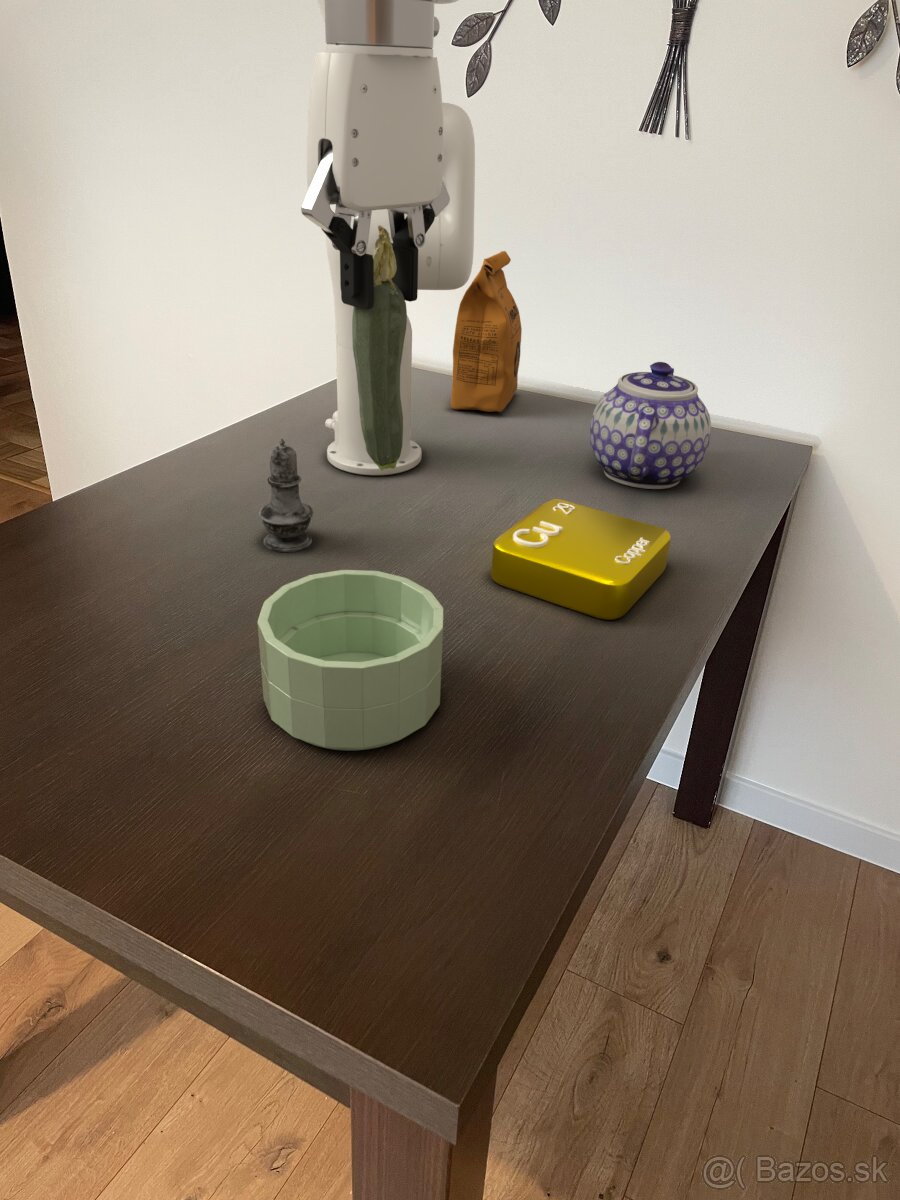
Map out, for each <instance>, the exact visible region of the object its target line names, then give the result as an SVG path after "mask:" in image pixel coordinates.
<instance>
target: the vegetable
mask: <svg viewBox="0 0 900 1200" xmlns="http://www.w3.org/2000/svg"><path fill="white" fill-rule="evenodd" d="M378 228H379V230H378V231H379V233H380V234H379V235H378V239H377V240H376V243H375V250H374V256H373V259H374V305H373V307H372V308H371V309H367V310H364V309H361V308H357V307H353V316H352V342H353V353H354V359H355V365H356V372H357V382H358V394H359V406H360V419H361V427H362V432H363V437H364V441H365V444H366V451H367V453H368V455H369V456H370V458H371V459H372V460H373V462H374V463H375V464H376V465H377V466H378V467H379V469H380V470H382V471H383V469H387V468H392V469H393V468H395V467H396V463H397V460H398V459H399V457H400V454H401V450H402V443H403V414H402V406H401V398H400V366H401V359H402V352H403V345H404V338H405V333H406V324H407V316H408V314H407V313H408V310H407V303H406V302H407V301H406V300H405V299H404V296H403V294H402V292H401V290H400V289H399V288H398V287H397V285H396V284H394V283H393V282H392V278H393V277H394V275H395V273H396V268H397V266H396V259H395V255H394V251H393V247H392V244H391V242H390V236H389V233H388V231H387V230H386V229H385V228H383V227H382V226H378Z"/></svg>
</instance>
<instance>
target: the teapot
mask: <svg viewBox="0 0 900 1200" xmlns="http://www.w3.org/2000/svg"><path fill="white" fill-rule="evenodd" d="M649 368H650V371H638V372H637V371H636V372H630V373H626V374H624V375H621V377H619V378H618V380H617V383H616V385H615V386H613V387H612V388H611V389H610V390H609V391H607V392H605V393H604V394H603V395H601V396H600V398H599V400H598V402H597V404H596V406H595V408H594V409H593V413H592V414H591V415H592V416H591V419H590V424H589V443H590V448H591V451H592V455H593V456H594V458H595V460H596V461H597V462H598V464H599V465H600V467H601V468H602V469H603V473H604V475H605V476H606V477H607V478H608V479H609V480H612V481H614V482H616V483H618V484H622V485H626V486H630V487H634V488H639V489H647V490H650V489H651V490H664V489H670V488H673V487H675V486H677V485H678V484H679V483H680V482H681V480H683V479H685V478H686V477H688V476H689V475H690V474H692V473H693V472H695V471H696V470H697V468H698V467H699V465H700V464H701V463H702V461H703V460H704V458H705V457H706V454H707V451H708V449H709V446H710V440H711V433H712V420H711V415H710V413H709V410H708V408H707V406H706V405H705V403H704V401H702V399H701V398H700V397H699V395H698V391H699V388H698V386H697V384H696V383H694V382H693V381H691V380H689V379H687V378H684V377H682V376H678V375H675V368H674V367H672V366H671V365H670V364H669V363H667V362H664V361H656V362H653V363H652V364H650V365H649Z"/></svg>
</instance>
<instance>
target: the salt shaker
mask: <svg viewBox="0 0 900 1200" xmlns="http://www.w3.org/2000/svg"><path fill="white" fill-rule="evenodd" d="M278 444H279V445H278V446H275V447H273V448H272V449H271V450H270V452H269V455H268V456H269V457H268V458H269V471H270V472H269V473H270V476H268V477H267V483H268V485H269V486H270V501H269V503H267V504H265V505H263V506H262V507H261V508H260V509H259V511H258V516H259V518H260V519H261V520H262V525H263V526H264V529H265V530H266V531H267V532H268V534H267V535H265V537H264V538H263V545H264V546H265V547H266V548H267V549H269V550H271V551H274V552H279V553H295V552H299V551H302V550H305V549H306V548H308V547H309V546H310V545H311V544H312V542H313V539H312V536H311V535H310V534H309V533H307V532H306V530H308V528H309V527H310V526H309V525H310V523H311V520H312V517H313V515H314V509H313V507H311V505H310V504H307V503H305V502H302V501H301V497H300V488H299V487H300V486H299V485H300V483H301V482H302V477H301V476H300V475H299V474H298V461H297V452H296V450H295V449H294V448H292V447H291V446H289V445H286V441H285V439H283V438H280V440H279V441H278Z"/></svg>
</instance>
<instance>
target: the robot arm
mask: <svg viewBox="0 0 900 1200" xmlns="http://www.w3.org/2000/svg"><path fill="white" fill-rule="evenodd" d="M316 1H317V4H318V6H319V7H318V8H319V10H320V13H321V16H322V18H323V21H324V31H325V32H324V33H325V52H323V51H316V52H315V58H314V63H313V68H312V74H311V79H310V80H311V81H310V88H309V89H310V90H309V99H308V110H307V112H308V113H307V128H306V129H307V131H306V134H307V135H306V185H307V192H306V195H305V198H304V200H303V202H302V204H301V209H300V211H301V214H302V215H303V217H305V218H306V219H308V220H309V221H310V222H311V223H313V224H314V225H315V226H317V227H319V228H320V229H321V231H322V232H323V234H325V247H326V255H327V260H328V261H327V262H328V266H329V271H330V272H329V273H330V278H331V284H332V285H331V286H332V292H333V303H334V304H333V306H334V319H335V322H334V323H335V356H336V357H335V359H336V397H337V398H336V399H337V410H335V411H334V412H333V414H332V417H331V418H330V417H328V418H327V419H326V420H325V422H324V426H325V427H326V429H329V430H331V431H334V441H332V442H331V443H330V444H329V445H328V446H327V448H326V458H327V461H328V462H329V464H330V465H332V466H333V467H335V468H337V469H339V470H341V471H344V472H346V473H351V474H356V475H362V476H388V475H394V474H400V473H404V472H406V471H409V470H411V469H414V468H415V467H417V466H418V465H419V463H421V461H422V455H423V454H422V450H423V449H422V447H421V446H420V445H419V444H418V443H416V442H415V441H413V440H412V439H411V423H412V422H411V418H412V416H411V415H412V413H411V411H412V367H413V365H412V364H413V363H412V361H413V328H412V323H411V320H410V318H409V316H408V315H407V324H406V333H405V338H404V345H403V352H402V359H401V366H400V398H401V406H402V414H403V443H402V450H401V454H400V457H399V459H398V460H397V463H396V467H395V468H393V469H392V468H387V469H383V471H382V470H380V469H379V467H378V466H377V465H376V464H375V463H374V462H373V460H372V459H371V458H370V456H369V455H368V453H367V451H366V444H365V441H364V437H363V432H362V427H361V419H360V406H359V394H358V382H357V372H356V365H355V359H354V353H353V342H352V316H353V307H357V308H361V309H364V310H367V309H371V308H372V307H373V305H374V259H373V256H374V250H375V243H376V240H377V239H378V235H379V234H380V233H379V231H378V230H379V228H378V226H382V227H383V228H385V229H386V230H387V231H388V233H389V236H390V242H391V244H392V247H393V251H394V255H395V259H396V266H397V268H396V273H395V275H394V277H393V278H392V282H393V283H394V284H396V285H397V287H398V288H399V289H400V290H401V292H402V294H403V296H404V299H405V302H410V303H411V302H415V301H417V299H418V294H419V293H418V292H419V291H452V290H453V291H454V290H457V289H460V288H462V287H464V286H465V285H466V284H467V283H468V281H469V279H470V277H471V273H472V270H473V265H474V252H475V251H474V249H475V248H474V247H475V191H476V189H475V183H476V152H475V151H476V146H475V145H476V143H475V133H474V127H473V124H472V120H471V118H470V116H469V114H468V113H467V112H466V111H465V109H463V108H462V107H461V106H459V105H457V104H454V103H450V102H443V95H442V86H441V76H440V75H441V74H440V68H439V62H438V57H434V40H435V39H434V38H436V37H438V35H439V32H440V21H439V19H438V17H437V16H435V5H447V4H453V3H456V2H458V1H459V0H316ZM331 205H335V209H334V211H333V209H332V208H331Z"/></svg>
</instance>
